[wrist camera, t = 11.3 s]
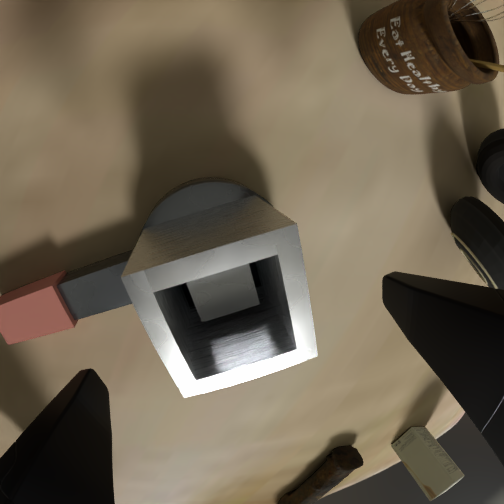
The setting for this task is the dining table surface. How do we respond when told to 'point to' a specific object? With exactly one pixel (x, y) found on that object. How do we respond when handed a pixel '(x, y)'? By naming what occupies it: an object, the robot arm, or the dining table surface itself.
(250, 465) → the dining table surface
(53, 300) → the ratchet
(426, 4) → the utensil holder
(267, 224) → the square hollow container
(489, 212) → the headphones
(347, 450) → the hand tool
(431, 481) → the skincare box
